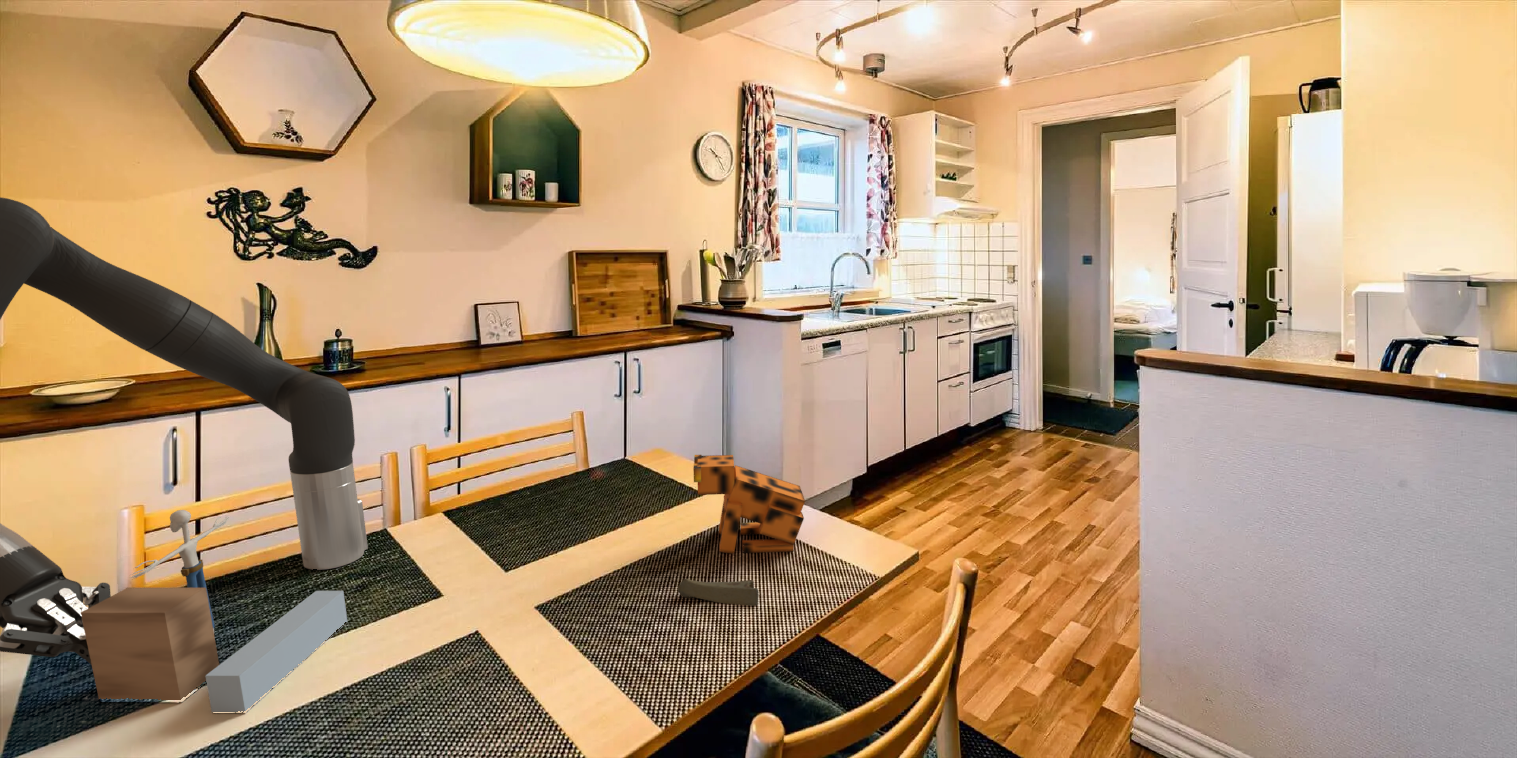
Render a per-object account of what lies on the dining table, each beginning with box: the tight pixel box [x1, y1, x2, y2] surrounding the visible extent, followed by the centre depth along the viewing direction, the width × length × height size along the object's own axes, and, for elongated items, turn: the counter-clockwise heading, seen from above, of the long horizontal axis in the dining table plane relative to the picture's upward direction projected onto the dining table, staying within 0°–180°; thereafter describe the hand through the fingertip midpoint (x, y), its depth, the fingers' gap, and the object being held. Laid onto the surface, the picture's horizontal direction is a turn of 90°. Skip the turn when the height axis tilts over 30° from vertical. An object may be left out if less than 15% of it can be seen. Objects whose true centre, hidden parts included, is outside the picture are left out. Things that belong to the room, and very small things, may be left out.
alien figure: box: [130, 509, 231, 632], centre depth 93 cm, size 20×5×19 cm, turn 8°
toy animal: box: [692, 454, 806, 554], centre depth 125 cm, size 10×20×16 cm, turn 94°
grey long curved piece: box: [677, 578, 760, 607], centre depth 106 cm, size 13×5×4 cm, turn 82°
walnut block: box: [81, 587, 220, 700], centre depth 84 cm, size 6×10×12 cm, turn 89°
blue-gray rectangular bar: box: [205, 590, 348, 713], centre depth 89 cm, size 20×4×5 cm, turn 0°
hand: (113, 660), depth 84 cm, fingers closed
